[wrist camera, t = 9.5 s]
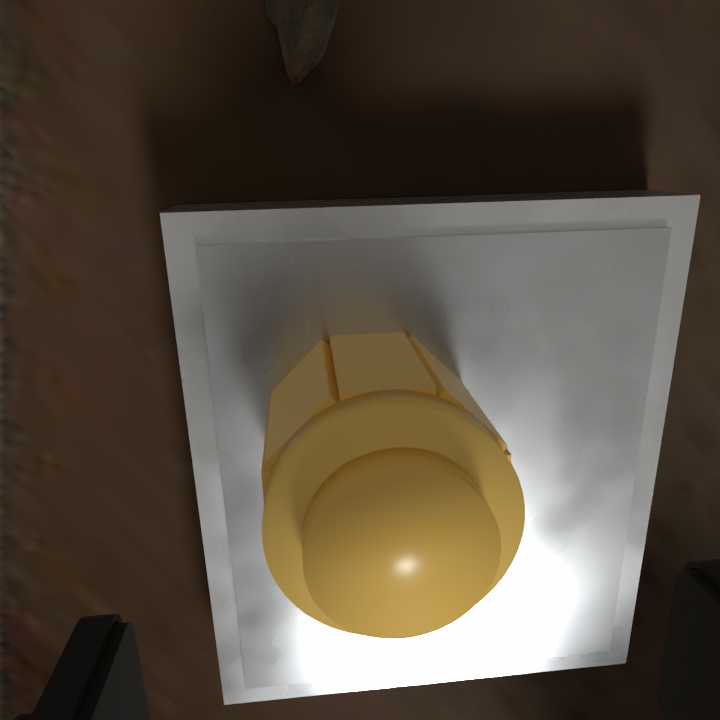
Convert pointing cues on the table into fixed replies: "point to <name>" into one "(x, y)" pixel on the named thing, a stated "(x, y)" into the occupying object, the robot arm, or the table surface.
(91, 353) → the table surface
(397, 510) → the wire nut
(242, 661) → the plate
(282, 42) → the dark brown wood branch
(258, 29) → the table surface
